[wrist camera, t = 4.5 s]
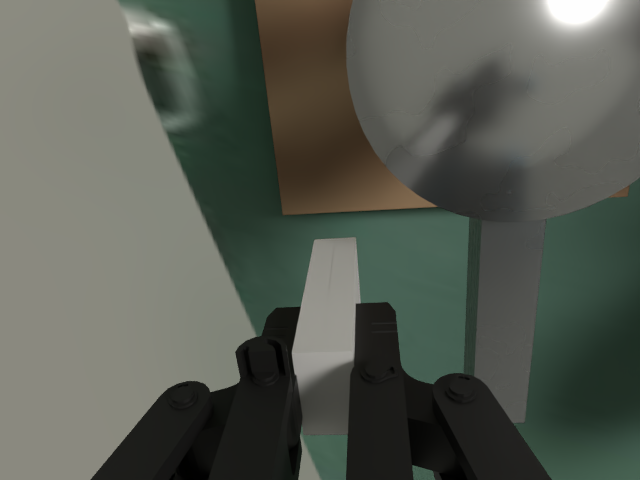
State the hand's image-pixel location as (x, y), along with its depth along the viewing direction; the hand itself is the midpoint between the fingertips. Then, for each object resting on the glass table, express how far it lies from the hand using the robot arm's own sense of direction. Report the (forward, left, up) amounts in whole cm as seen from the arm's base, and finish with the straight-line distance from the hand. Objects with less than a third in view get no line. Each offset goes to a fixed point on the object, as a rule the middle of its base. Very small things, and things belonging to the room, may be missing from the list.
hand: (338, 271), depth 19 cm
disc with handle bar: (+8, -5, -1) cm, 10 cm away
